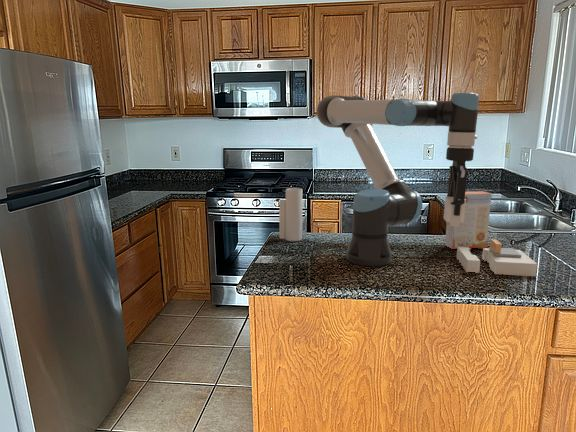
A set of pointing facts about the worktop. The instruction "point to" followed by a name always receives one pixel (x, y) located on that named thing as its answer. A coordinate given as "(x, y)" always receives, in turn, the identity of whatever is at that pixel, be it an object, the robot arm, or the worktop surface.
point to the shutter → (502, 250)
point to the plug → (448, 210)
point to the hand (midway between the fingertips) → (452, 223)
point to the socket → (497, 262)
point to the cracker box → (471, 223)
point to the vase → (291, 215)
